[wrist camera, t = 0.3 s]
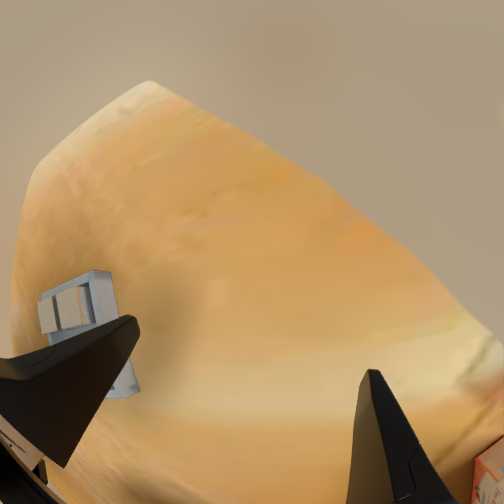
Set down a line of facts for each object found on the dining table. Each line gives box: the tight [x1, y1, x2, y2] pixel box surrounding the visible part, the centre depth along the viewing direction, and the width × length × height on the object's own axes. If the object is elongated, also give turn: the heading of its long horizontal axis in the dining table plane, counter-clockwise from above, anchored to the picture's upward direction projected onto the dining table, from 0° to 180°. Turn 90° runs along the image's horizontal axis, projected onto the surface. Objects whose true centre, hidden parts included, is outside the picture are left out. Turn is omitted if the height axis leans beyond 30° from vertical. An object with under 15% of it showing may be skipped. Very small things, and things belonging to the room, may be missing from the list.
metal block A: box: [56, 286, 96, 329], centre depth 25 cm, size 4×4×4 cm
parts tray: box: [40, 270, 140, 399], centre depth 26 cm, size 14×12×3 cm
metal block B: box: [37, 296, 80, 334], centre depth 26 cm, size 4×4×4 cm
